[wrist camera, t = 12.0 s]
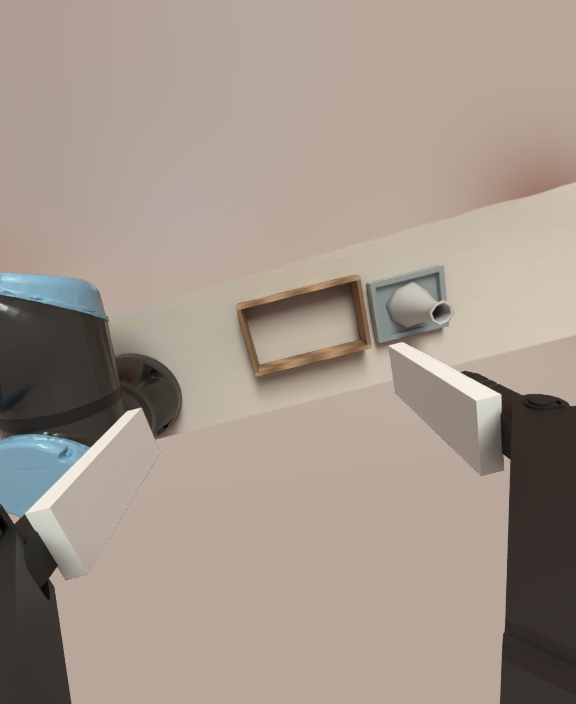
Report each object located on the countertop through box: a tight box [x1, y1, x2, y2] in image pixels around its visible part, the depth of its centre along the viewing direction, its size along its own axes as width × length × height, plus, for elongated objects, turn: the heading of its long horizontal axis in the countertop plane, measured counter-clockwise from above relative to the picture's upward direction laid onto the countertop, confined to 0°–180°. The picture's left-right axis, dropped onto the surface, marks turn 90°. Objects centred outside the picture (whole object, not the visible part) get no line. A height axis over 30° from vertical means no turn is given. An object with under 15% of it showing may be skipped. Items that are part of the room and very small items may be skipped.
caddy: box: [236, 275, 372, 377], centre depth 47 cm, size 19×12×4 cm, turn 104°
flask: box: [386, 281, 454, 328], centre depth 44 cm, size 7×7×10 cm
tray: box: [366, 266, 449, 343], centre depth 49 cm, size 12×10×2 cm
